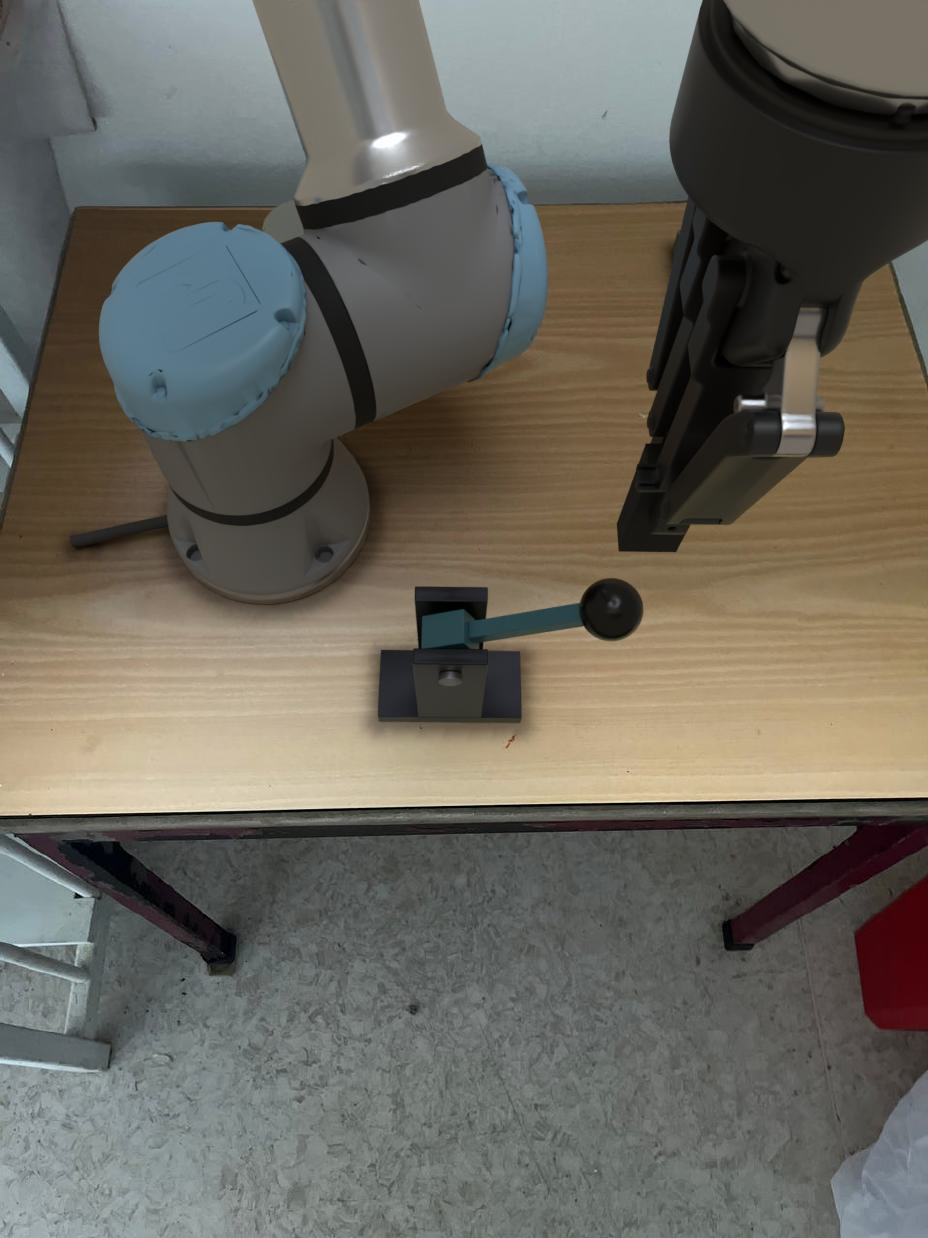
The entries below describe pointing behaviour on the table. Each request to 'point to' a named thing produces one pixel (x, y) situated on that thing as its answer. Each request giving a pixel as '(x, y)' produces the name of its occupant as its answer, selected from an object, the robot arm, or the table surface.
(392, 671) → the switch bracket
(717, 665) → the table surface
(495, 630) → the switch lever
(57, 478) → the table surface
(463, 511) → the table surface
